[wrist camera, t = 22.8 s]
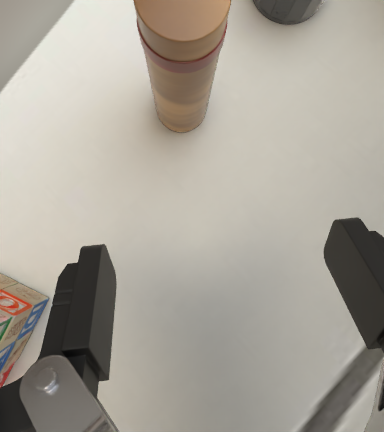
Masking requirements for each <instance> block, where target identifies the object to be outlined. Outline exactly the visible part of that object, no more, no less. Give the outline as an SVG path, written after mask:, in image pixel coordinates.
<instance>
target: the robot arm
mask: <svg viewBox="0 0 384 432" xmlns="http://www.w3.org/2000/svg"><path fill="white" fill-rule="evenodd" d="M324 259H325V262H326V265H327V267H328V269H329V271H330V273H331V275H332V277H333V279H334V281H335V283H336V285H337V287H338V289H339V291H340V293H341V295H342V297H343V299H344V301H345V303H346V305H347V307H348V309H349V312H350V314H351V316H352V318H353V320H354V322H355V324H356V326H357V328H358V330H359V332H360V334H361V336H362V338H363V340H364V342H365V344H366V346H367V348H368V349H376V348H382V350H383V352H384V237H383V236H381V235H380V234H379V233H377V232H376V231H368V229H367V228H366V226H365V225H364V223H363V222H362V220H361V219H359V218H348V219H339V220H335V221H334V222H333V224H332V226H331V229H330V232H329V235H328V238H327V241H326V244H325V247H324ZM115 297H116V274H115V270H114V267H113V264H112V262H111V259H110V256H109V253H108V250H107V248H106V246H105V244H102V245H92V246H83V247H82V248H81V250H80V255H79V260H78V263H71V264H67V266H66V267H65V269H64V270H63V271H62V273H61V274H60V276H59V277H58V281H57V286H56V290H55V295H54V298H53V302H52V304H53V306H52V307H51V311H50V315H49V319H48V323H47V327H46V332H45V336H44V340H43V344H42V348H41V352H40V355H39V357H38V359H37V361H36V362H35V363H34V364H33V365H32V366H31V367H30V368H29V369H28V370H27V372H26V373H25V375H24V376H22V377H21V378H19V379H18V380H16V381H14V382H12V383H10V384H8V385H6V386H4V387H1V388H0V432H119V430H118V429H117V427H116V426H115V424H114V423H113V421H112V419H111V418H110V416H109V415H108V413H107V412H106V410H105V409H104V407H103V406H102V404H101V403H100V401H99V400H98V398H97V392H98V383H99V381H105V380H109V370H110V358H111V346H112V334H113V322H114V310H115ZM364 432H384V358H383V361H382V366H381V371H380V376H379V381H378V386H377V390H376V395H375V400H374V405H373V410H372V413H371V416H370V419H369V421H368V423H367V425H366V427H365V430H364Z"/></svg>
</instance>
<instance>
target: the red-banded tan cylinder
mask: <svg viewBox="0 0 384 432" xmlns="http://www.w3.org/2000/svg"><path fill="white" fill-rule="evenodd" d="M134 5H135V10H136V15H137V27H138V32H139V36H140V40H141V44H142V46H143V49H144V53H145V58H146V62H147V67H148V72H149V77H150V82H151V86H152V91H153V96H154V101H155V105H156V110H157V114H158V117H159V119H160V121H161V122H162V123H163V124H164V125H165V126H166V127H167V128H169V129H170V130H173V131H176V132H187V131H190V130H193V129H195V128H196V127H197V126H199V125H200V124H201V122H202V121H203V119H204V117H205V114H206V110H207V106H208V101H209V97H210V92H211V88H212V84H213V79H214V75H215V70H216V66H217V62H218V57H219V53H220V50H221V48H222V45H223V42H224V38H225V33H226V29H227V18H228V13H229V9H230V5H231V0H134Z"/></svg>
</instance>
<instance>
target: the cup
mask: <svg viewBox="0 0 384 432" xmlns="http://www.w3.org/2000/svg"><path fill="white" fill-rule="evenodd" d="M253 1H254V3H255V5H256V7H257V8H258V10H259V11H260V12H261V13H262V14H263V15H264V16H265V17H267V18H268V19H270V20H272V21H274V22H277V23H280V24H296V23H300V22H303V21H305V20H307V19H309V18H310V17H311V16H313V15H314V14H315V13H316V11H317V10H318V9H319V7H320V6H321V5H322V4H323V2H324V1H325V0H253Z"/></svg>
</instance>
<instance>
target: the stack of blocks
mask: <svg viewBox="0 0 384 432" xmlns="http://www.w3.org/2000/svg"><path fill="white" fill-rule="evenodd" d="M48 299H49V298H48V297H46V296H44V295H42V294H40V293H38V292H36V291H34V290H32V289H30V288H28V287H26V286H24V285H22V284H19V283H18V282H17V281H15V280H13V279H11V278H9V277H7V276H5V275H3V274H1V273H0V388H1V387H2V386H3V384H4V382H5V380H6V378H7V376H8V374H9V372H10V370H11V369H12V367H13V365H14V363H15V361H16V360H17V359H18V358H19V356H20V354H21V352H22V350H23V349H24V347H25V345H26V343H27V341H28V339H29V337H30V335H31V333H32V331H33V328H34V326H35V325H36V323H37V321H38V319H39V317H40V315H41V313H42V311H43V309H44V307H45V305H46V304H47V302H48Z"/></svg>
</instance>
